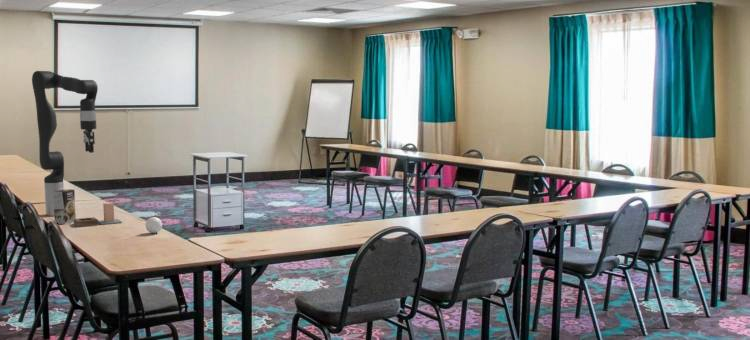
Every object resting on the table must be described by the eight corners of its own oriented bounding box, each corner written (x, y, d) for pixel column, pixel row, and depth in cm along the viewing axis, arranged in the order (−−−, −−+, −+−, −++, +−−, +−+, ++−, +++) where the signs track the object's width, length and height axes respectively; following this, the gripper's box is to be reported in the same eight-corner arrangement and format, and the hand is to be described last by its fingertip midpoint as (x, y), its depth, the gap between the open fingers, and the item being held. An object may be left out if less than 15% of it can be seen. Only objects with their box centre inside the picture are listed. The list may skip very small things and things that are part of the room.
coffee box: (66, 224, 390) (64, 191, 389) (54, 223, 392) (52, 191, 390) (76, 221, 399) (75, 189, 397) (64, 220, 400) (63, 188, 399)
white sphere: (165, 232, 365) (165, 217, 364) (151, 235, 359) (150, 219, 359) (153, 230, 372) (153, 214, 371) (139, 232, 366) (139, 216, 365)
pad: (96, 221, 396) (96, 220, 396) (117, 220, 401) (117, 218, 401) (101, 224, 387) (100, 223, 387) (122, 222, 393) (121, 221, 392)
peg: (104, 221, 395) (103, 203, 394) (112, 220, 397) (111, 202, 396) (105, 222, 392) (105, 204, 391) (114, 221, 394) (113, 203, 393)
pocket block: (73, 224, 390) (73, 219, 390) (94, 222, 395) (93, 217, 395) (77, 226, 382) (77, 221, 382) (98, 225, 387) (98, 219, 387)
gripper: (77, 119, 405) (79, 151, 407) (83, 120, 393) (84, 153, 395) (92, 119, 409) (94, 150, 411) (98, 120, 397) (100, 152, 399)
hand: (89, 151), depth 403 cm, fingers open, 8 cm apart
